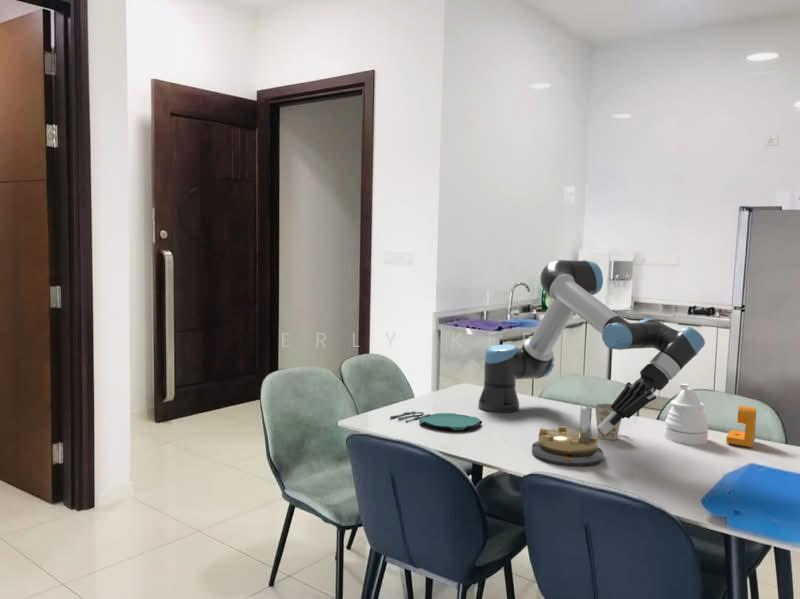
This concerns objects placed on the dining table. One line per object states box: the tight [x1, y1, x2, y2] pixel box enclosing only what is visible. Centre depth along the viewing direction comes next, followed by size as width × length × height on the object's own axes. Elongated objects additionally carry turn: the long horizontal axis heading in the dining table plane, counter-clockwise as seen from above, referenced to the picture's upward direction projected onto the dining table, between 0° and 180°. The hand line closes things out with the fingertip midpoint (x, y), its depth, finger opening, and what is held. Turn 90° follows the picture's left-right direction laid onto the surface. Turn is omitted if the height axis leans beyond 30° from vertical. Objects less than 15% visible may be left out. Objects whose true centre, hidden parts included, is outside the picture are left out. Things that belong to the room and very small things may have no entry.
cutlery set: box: [389, 410, 483, 431], centre depth 227 cm, size 20×30×2 cm, turn 54°
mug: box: [594, 403, 622, 441], centre depth 216 cm, size 8×13×10 cm, turn 137°
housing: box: [531, 440, 604, 468], centre depth 193 cm, size 20×20×2 cm
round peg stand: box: [537, 406, 599, 456], centre depth 193 cm, size 17×17×13 cm
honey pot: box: [663, 383, 709, 445], centre depth 215 cm, size 13×13×18 cm
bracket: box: [725, 405, 757, 448], centre depth 212 cm, size 11×7×12 cm, turn 147°
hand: (601, 430), depth 188 cm, fingers closed
